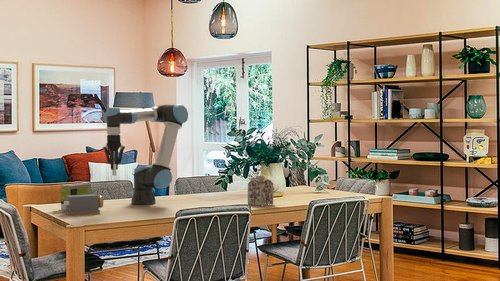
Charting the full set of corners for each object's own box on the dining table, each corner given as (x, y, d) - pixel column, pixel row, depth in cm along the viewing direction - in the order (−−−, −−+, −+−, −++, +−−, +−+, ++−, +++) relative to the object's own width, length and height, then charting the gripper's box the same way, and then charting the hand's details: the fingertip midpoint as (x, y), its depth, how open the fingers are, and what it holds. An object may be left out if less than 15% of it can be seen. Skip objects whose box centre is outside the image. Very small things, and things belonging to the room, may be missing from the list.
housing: (93, 211, 386) (93, 193, 386) (99, 213, 376) (99, 195, 376) (63, 213, 378) (63, 195, 378) (69, 215, 368) (69, 197, 367)
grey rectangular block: (99, 207, 386) (99, 194, 385) (103, 208, 380) (103, 196, 379) (62, 209, 375) (62, 196, 375) (66, 210, 369) (66, 198, 369)
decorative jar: (273, 204, 418) (273, 175, 417) (261, 206, 409) (261, 177, 409) (259, 203, 426) (259, 174, 425) (246, 204, 417) (247, 175, 417)
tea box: (81, 207, 405) (81, 182, 404) (92, 208, 398) (91, 183, 398) (60, 209, 393) (60, 184, 392) (70, 211, 387) (70, 185, 386)
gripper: (122, 134, 393) (122, 174, 394) (100, 134, 386) (101, 175, 387) (126, 134, 386) (127, 175, 387) (104, 134, 380) (105, 176, 381)
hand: (114, 175), depth 387 cm, fingers closed
